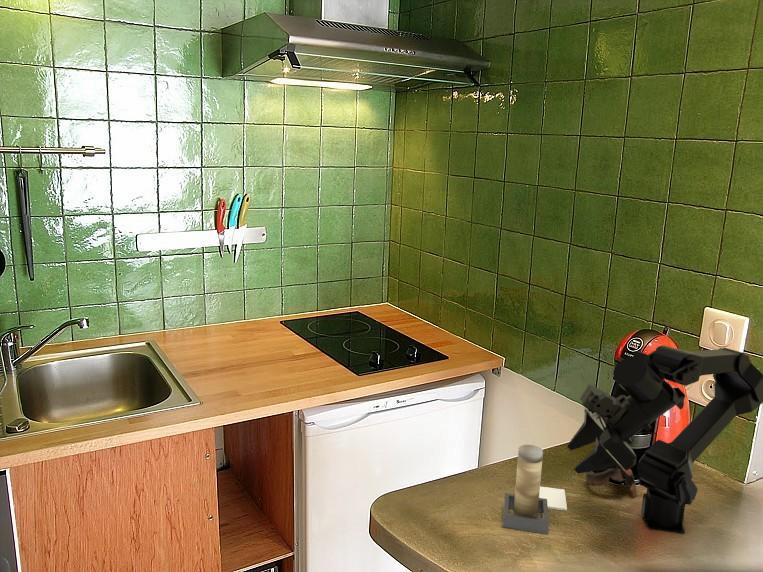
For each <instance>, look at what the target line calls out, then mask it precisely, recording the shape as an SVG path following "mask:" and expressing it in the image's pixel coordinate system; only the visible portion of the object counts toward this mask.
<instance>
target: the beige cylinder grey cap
mask: <svg viewBox="0 0 763 572" xmlns="http://www.w3.org/2000/svg"><path fill="white" fill-rule="evenodd" d="M543 456H544V451H543V448H541V447H539V446H537V445H534V444H522V445H520V446H519V447H518V452H517V463H516V464H517V465H516V474H515V476H516V477H515V487H514V488H515V489H514V490H515V491H514V494H515V500H514V508H513V513H512V514H517V515H524V516H531V517H538V514H539V512H538V503H539V492H540V486H541V480H542V469H543V467H542V465H543Z"/></svg>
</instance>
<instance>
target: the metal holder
mask: <svg viewBox="0 0 763 572" xmlns="http://www.w3.org/2000/svg"><path fill="white" fill-rule="evenodd" d="M514 500H515V493H504V500H503V501H504V502H503V515H502V516H503V520H502V528H503V529H504V528H506V529H512V530H519V531H525V532H531V533H539V534H546V535H548V533H549V532H548V531H549V523H550V521H549V508H548V505H547V499H544V498H539V503H538V513H541V517H538V516H537V517H531V516H524V515H517V514H513V513H509V509H514Z"/></svg>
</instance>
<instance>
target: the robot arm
mask: <svg viewBox="0 0 763 572" xmlns="http://www.w3.org/2000/svg"><path fill="white" fill-rule="evenodd" d="M751 361H752V360H751V359H750V356H749V355H748V354H746V353H745V352H741V351H738V350H734V349H730V348H727V347H720V348H717V349H706V350H705V349H702V350H693V351H692V350H691V351H690V350H689V351H687V350H683V349H679V348H675V347H672V346H667V345H659V346H657V347H656V348H655V350H654V351H651V352H650V353H649V354H647V353H645V352H642V351H638V350H637V351H636V350H635V353H634V355H633V356H632V355H631V356H627V357H626V358H623V359H622V360H620V361H619V362H618V363H616V364H615V366H614V368H613V372H612V374H613V378H614V381H615V382H616V384H618V385H619V386H620V388H621V389H623V390H624V391H625V392H626V393H627V394H628V396H626V395H625V394H620V395H618V396H617V397H614V396H612V395H610V394H609V393H607V392H605V391H603V390H602V389H600V388H597V387H596V386H595V385H593V384H588V385H587V387H586V388H585V390H584V392H583V393H581V396H580V397H579V400H580V401H581V402H582V403H581V405H582V407H584V411H583V413H584V420H583V423H582V424H581V426H580V427H579V428H578V430H577V431H576V432H575V434H574V435H573V437H572V438H571V439H570V441H569V442H568V444H567V445H566V446H567V448H568V449H569V450H570V451H573V450H576V449H579V448H582V447H585V446H587V445H590V444H592V443H593V444H594V443H595V445H594V447H593V449H592V450H591V451H590V452H589V453H588V454H587V455H585V457H584V458H583V459H582V460H580V461H579V462H578V463H577V464H576V465H575V467H573V468H574V469H573V470H574V471H575V473H577V474H583V473H584V474H586V472H597V471H606V470H608V469H616V468H619V469H620V470H621V469H623V468H624V469H625V470H626V471H627V470H629V469H631V468H634V467H635V466H636V469H637V476H638V477H637V478H638V483H639V486H641V487H644V488H646V493H643V494H642V501H641V509H640V514H641V516H642V519H643V520H644V523H645V524H646V527H647V528H648V529H650V530H657V531H663V532H671V533H679V534H685V533H686V530H685V527H684V525H683V524H684V519H685V518H684V517H685V510H686V505H688V506H689V505H692V501H694V500H695V499H696V496H697V493H698V487H697V486H696V484H695V482H694V481H693V472H694V471H693V468H694V467H693V466H694V462H696V460H698V458H699V457H700V455H702V454H703V453H704V452H705V450H706V449H707V448H708V447H710V445H711V444H712V443H713V442H714V440H716V439H717V437H718V436H719V435H720V434H721V433H722V432H723V431H724V430H725V428H726V427H727V426H728V425H729V424H730V423H731V422H732V421H733V419H734V418H735V417H737V416H741V415H745V414H749V413H753V412H754V411H755V410H756V409H757V408H759V406H761V405H762V404H763V373H762V372H761V371H760V370H759V369H758V368H757V367H756V366H755V365H754V364H753V363H752V362H751ZM709 375H712V377H713V381H714V382H715V383H714V396H713V397H712V399H711V400H710V401H709V402H708V403H707V404H706V405H705V406H704V407H703V409H701V410H700V411H699V413H697V415H696V416H695V417H694V418H693V419H692V420H691V421H690V422H689V423H688V424H687V426H685V427H684V429H682V430H681V432H680V433H678V434H677V436H675V438H674V439H673V440H672V441H671V442H666V441H663V440H662V439H658V440H657V439H656V440H654V442H653V443H652V445H651V446H650V447H649V448H648V449H647V450H645V451H644V454H643V455H642V456H641V457H640V458H639V460H638V461H637V455H636V454H635V452H634V450H633V447H632V446H630V445H631V444H632V443H633V440H632V438H633V437H634V436H635V435H637V434H638V433H639V432H641V431H642V430H645V432H649V431H650V430H651V429H652V426H651V425H650V424H652V423H653V422H654V421H656V420H657V419H659V418H661V416H663V415H664V414H666V413H667V412H668V411H670V410H671V409H673V408H674V407H675V406H676V407H677V408H678V409H679V410H683V408H684V405H685V401H684V400H685V398H686V394H685V393H684V392H683V391H682V390H681V388H680V387H673V386H672V385H671V384H670V383H669V382H672V383H675V384H678V385H681V386H685V387H686V386H689V385H692V384H695V383H697V382H699V381H700V377H702V376H709ZM666 380H667V381H669V382H667V381H666Z"/></svg>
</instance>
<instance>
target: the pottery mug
mask: <svg viewBox="0 0 763 572" xmlns="http://www.w3.org/2000/svg"><path fill="white" fill-rule="evenodd" d="M585 474H586V475H585V481H586V482H587V484H590V485H591V486H605V487H606V488H607V489H609V488H610V479H612V480H613V481H618V482H624V480H625V485H626V486H627V487H630V488H629V491H630V493H631V498H632V499H634V498H635V497H636V496H637V493H638V492H637V483H636V480H635V476H634V474H633V471H632V469H631V468H630V469H629V470H627V471H626V470H625V469H624V468H623V469H621V470H620V469H619V468H616V469H605V470H603V471H602V472H601V471H600V472H593V471H591V472H585Z"/></svg>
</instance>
